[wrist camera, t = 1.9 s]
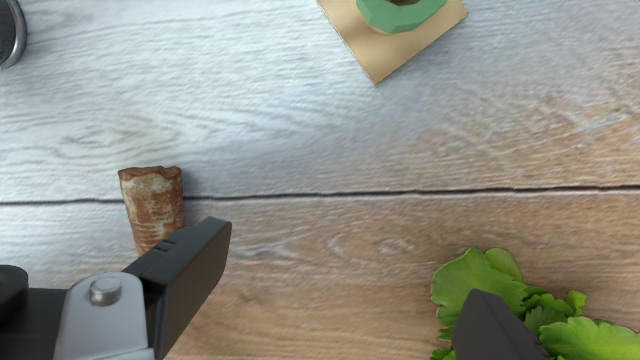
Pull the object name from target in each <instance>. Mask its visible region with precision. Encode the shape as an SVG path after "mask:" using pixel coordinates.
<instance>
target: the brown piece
mask: <svg viewBox="0 0 640 360" xmlns="http://www.w3.org/2000/svg"><path fill="white" fill-rule="evenodd" d="M118 175H119V179H120V186H121V191H122V195H123V198H124V201H125V205H126V210H127V214H128V218H129V221H130V224H131V228H132V231H133V236H134V241H135V245H136V248H137V251H138V255H139V257H141V256H142V255H143V254H144V253H146V252H147V251H148V250H150V249H151V248H153V247H154V246H155V245H156V244H157V243H159V242H160V241H162V240H163V239H164V238H165V237H166V236H168V235H169V234H170V233H172V232H173V231H175V230H178V229H181V228H184V218H183V212H184V211H183V197H182V179H181V170H180V168H178V167H176V166H172V167H169V168H163V167H162V166H154V167H145V168H137V167H132V168H126V169H122V170H119V171H118Z"/></svg>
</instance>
